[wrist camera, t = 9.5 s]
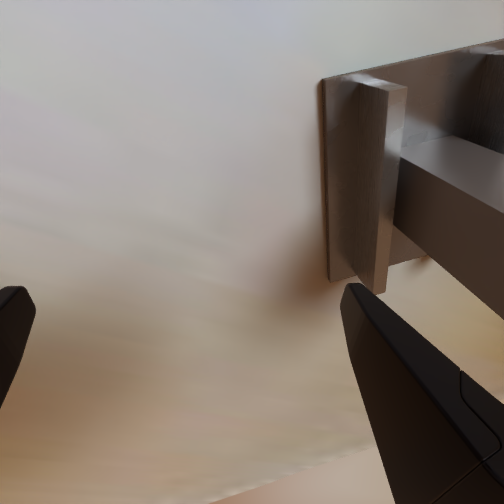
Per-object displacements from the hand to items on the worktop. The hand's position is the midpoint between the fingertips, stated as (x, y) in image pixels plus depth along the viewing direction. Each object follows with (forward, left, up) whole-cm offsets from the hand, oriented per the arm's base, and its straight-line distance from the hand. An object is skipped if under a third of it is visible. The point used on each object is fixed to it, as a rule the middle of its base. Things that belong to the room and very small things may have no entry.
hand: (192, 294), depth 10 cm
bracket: (+15, -8, -12) cm, 20 cm away
